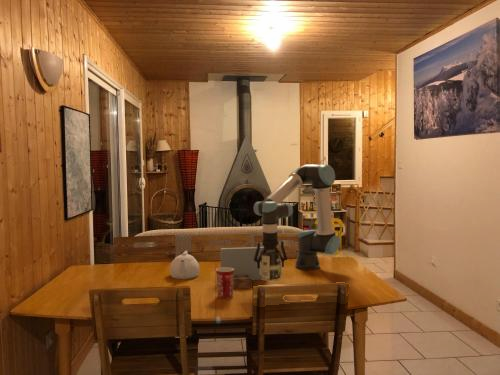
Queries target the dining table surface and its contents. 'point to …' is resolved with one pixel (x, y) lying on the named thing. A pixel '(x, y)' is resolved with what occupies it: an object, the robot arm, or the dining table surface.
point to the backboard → (241, 261)
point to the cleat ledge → (242, 281)
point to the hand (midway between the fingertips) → (270, 273)
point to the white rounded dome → (184, 267)
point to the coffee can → (270, 265)
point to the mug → (225, 282)
